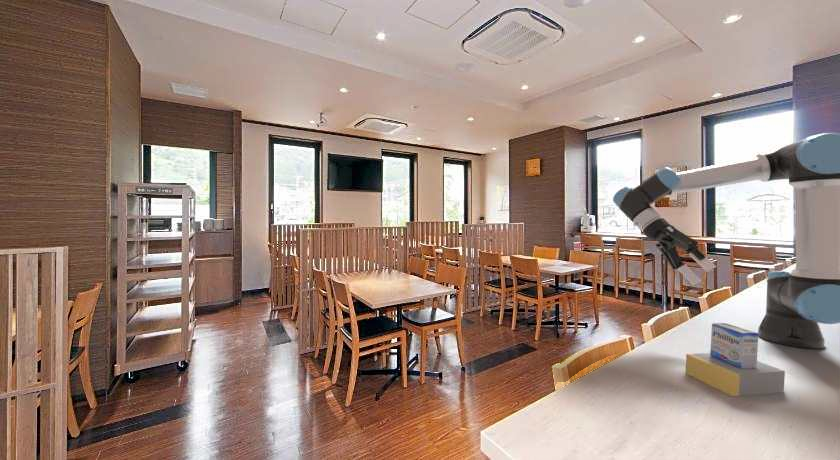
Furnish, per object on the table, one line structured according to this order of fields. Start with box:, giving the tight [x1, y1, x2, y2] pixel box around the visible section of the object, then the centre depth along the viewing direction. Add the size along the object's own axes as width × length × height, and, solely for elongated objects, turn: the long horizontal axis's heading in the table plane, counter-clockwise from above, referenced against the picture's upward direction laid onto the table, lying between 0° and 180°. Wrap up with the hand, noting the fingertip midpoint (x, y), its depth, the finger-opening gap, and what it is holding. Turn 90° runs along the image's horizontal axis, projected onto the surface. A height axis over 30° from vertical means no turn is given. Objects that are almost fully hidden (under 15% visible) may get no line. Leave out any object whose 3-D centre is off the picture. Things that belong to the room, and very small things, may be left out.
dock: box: [685, 352, 786, 397], centre depth 87 cm, size 14×12×5 cm
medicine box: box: [709, 322, 759, 369], centre depth 86 cm, size 8×4×9 cm, turn 8°
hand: (704, 276), depth 105 cm, fingers open, 13 cm apart
